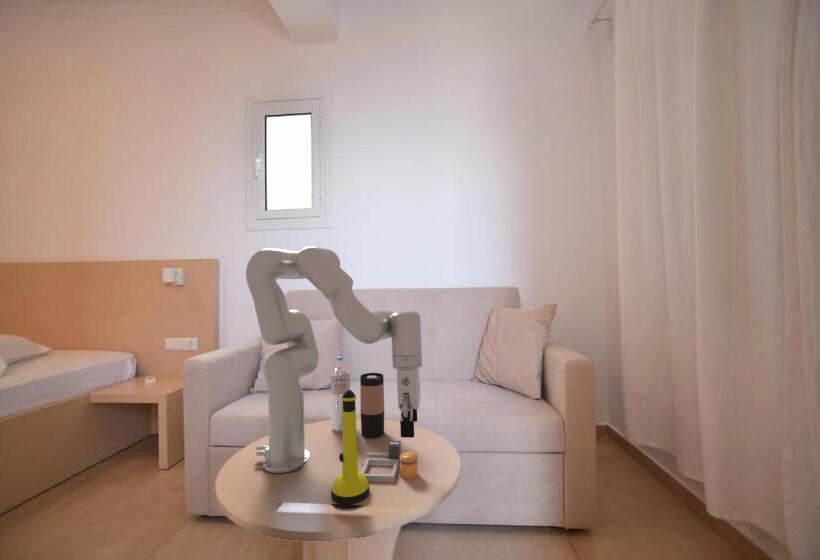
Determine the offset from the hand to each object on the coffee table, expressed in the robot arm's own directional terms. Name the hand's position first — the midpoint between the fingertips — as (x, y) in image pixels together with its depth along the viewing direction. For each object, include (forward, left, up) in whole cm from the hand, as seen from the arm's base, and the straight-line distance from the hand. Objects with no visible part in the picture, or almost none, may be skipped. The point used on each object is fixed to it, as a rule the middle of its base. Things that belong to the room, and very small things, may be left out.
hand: (409, 428), depth 89 cm
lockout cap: (0, 0, -13) cm, 13 cm away
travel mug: (-14, +24, -13) cm, 31 cm away
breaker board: (-10, +4, -13) cm, 17 cm away
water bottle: (-26, +29, -13) cm, 41 cm away
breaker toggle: (-5, +7, -12) cm, 14 cm away
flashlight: (-13, -9, -13) cm, 20 cm away
